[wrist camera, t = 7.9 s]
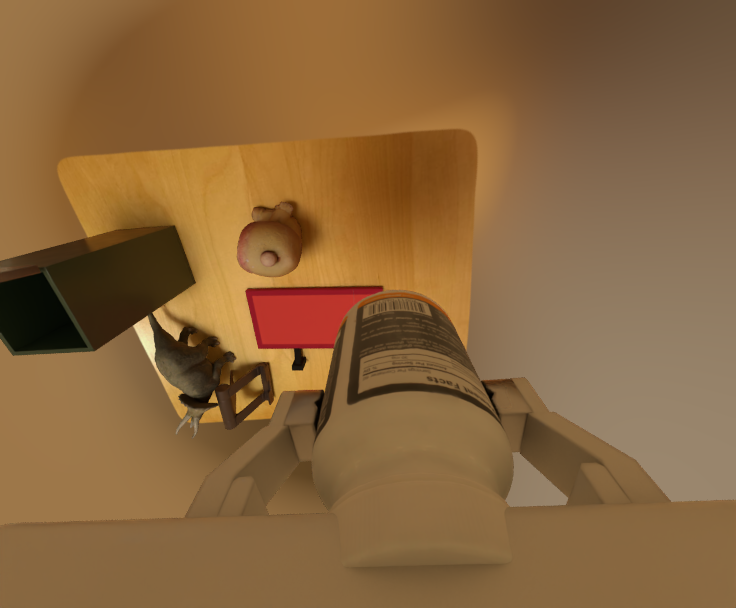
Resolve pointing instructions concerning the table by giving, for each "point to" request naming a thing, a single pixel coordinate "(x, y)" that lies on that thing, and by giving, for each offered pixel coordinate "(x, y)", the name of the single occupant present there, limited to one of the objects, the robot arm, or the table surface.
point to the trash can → (91, 290)
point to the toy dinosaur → (188, 369)
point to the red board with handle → (301, 316)
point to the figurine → (270, 242)
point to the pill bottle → (410, 441)
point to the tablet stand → (228, 392)
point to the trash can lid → (17, 272)
